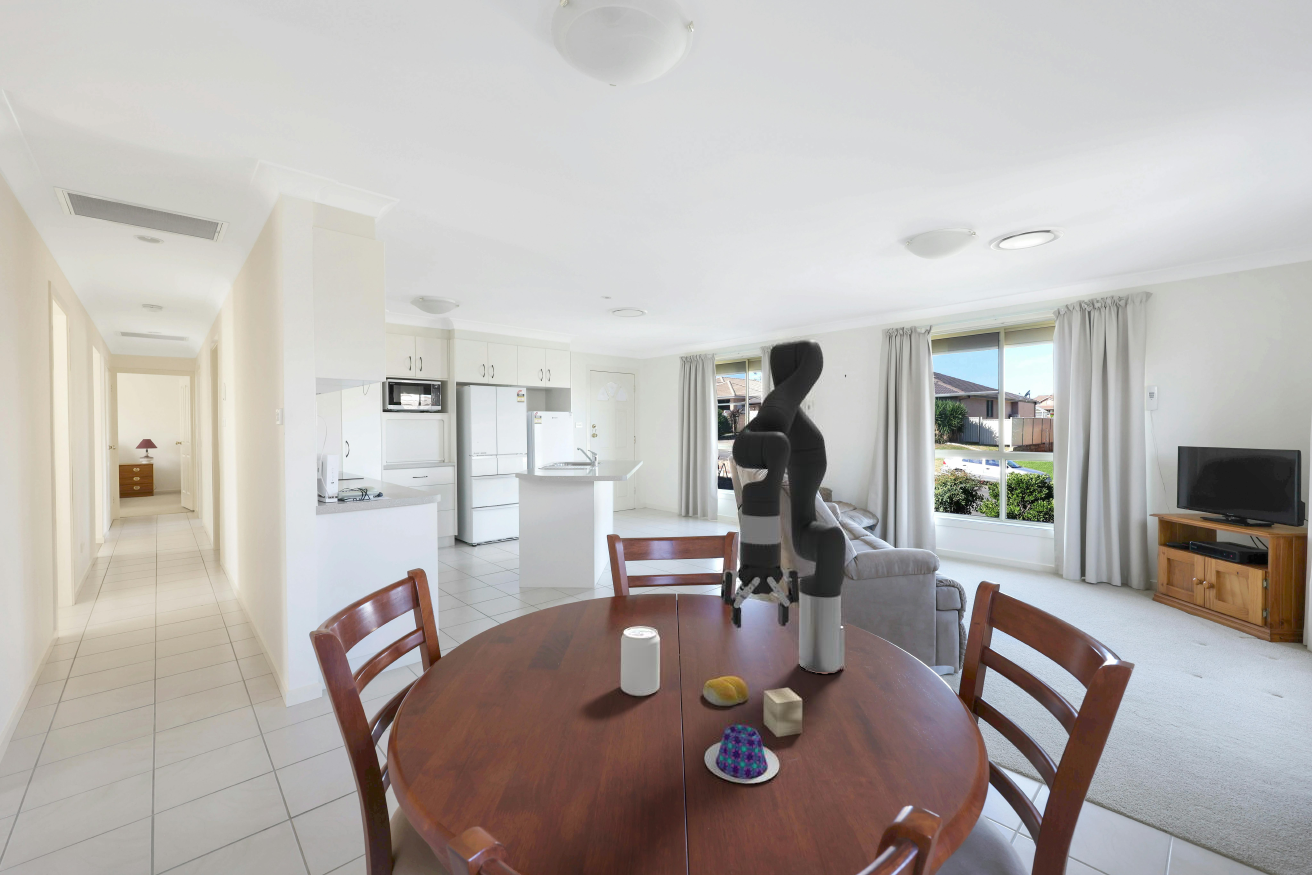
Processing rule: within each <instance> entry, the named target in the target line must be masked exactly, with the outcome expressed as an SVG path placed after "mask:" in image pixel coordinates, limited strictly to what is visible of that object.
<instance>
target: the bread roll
mask: <svg viewBox="0 0 1312 875" xmlns="http://www.w3.org/2000/svg"><path fill="white" fill-rule="evenodd" d="M702 694H703V697H704V698H705V699H706V701H708V702H710V704H713V705H715V706H718V707H719V706H720V707H721V706H723V707H731V706H734V705H737V704H742V703H744V702H745V701H747V700H748V698H749V689H748V686H747V684H746V682H744V681H743V680H742V679H741V678H739V677H737V676H734V675H729V676H728V675H727V676H720V677H719V678H716V679H715V678H714V679H710V680H707V682H705V684H704V686H703V689H702Z"/></svg>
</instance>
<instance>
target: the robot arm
mask: <svg viewBox="0 0 1312 875" xmlns="http://www.w3.org/2000/svg"><path fill="white" fill-rule="evenodd" d="M769 352H770V354H769V367H770V374H771V378H772V383H773V389H772V390H771V391H770V392H769V393H768V394H767V396H766V397H764V399H763V401H762V402H761V405H760V406H759V409H758V412H757V413H756V415H755V416H754V417H753V418H752V419H751V420H750V421H749V422H748V423H747V424H746V425H744V427H742V429H741V430H740V431H739V432H738V434H737V435H736V436H735V439H734V440H733V443H732V448H731V454H732V459H733V461H734V462H735V464H736V465H737V466H738V467H739V468H741V469H745V470H746V469H748V470H767V473H766V475H765V476H764V478H763V479H761V480H757V481H750V482H747V483H745V484H743V486H742V490H741V520H740V523H739V524H740V525H739V526H740V527H739V536H740V537H739V539H740V540H739V568H738V570H737V571H736V570H728V569H726V568H725V569H724V570H723V571H722V581H721V593H720V599H721V601H722V603H724V605H726V606H730V608H731V612H730V613H731V615H730V620H731V623H732V624H733V625H734V626H735V628H736V629H741V628H742V607H741V605H742V604H743V603H744V601H745V600H747V599H748V598H749V596H750V595H754V596H755V595H756V596H757V595H761V594H764V595H770V594H771V593H772V594H773V595H774V596H775V597H776V598H777V600H778V601H779V603H778V604H777V605H778V606H777V607H778V608H777V623H778V625H779V626H781V627H786V625H787V623H788V622H789V617H790V615H789V614H790V612H789V610H790V605H791V604H795V603H798V602H799V604H798V605H799V606H798V607H799V609H798V610H799V612H798V613H799V614H798V615H799V616H798V619H799V620H798V622H799V623H798V632H799V633H798V665H799V664H800V665H799V667H800V666H801V667H803V668H805V669H807V670H811V671H815V672H831V671H835V670H837V669H839V668H840V667H841V666H844V667H845V627H844V626H843V625H841V624H842V623H841V622H842V620H841V618H842V617H841V613H842V610H841V609H842V605H841V604H842V602H841V601H842V599H841V598H842V586H843V583H844V579H845V567H846V566H845V565H846V554H847V553H846V549H847V547H846V546H847V544H846V538H845V534H844V531H843V530H842V528H840V526H837V525H836V524H835V525H834V524H829V523H824V522H819V521H818V519H817V512H816V498H817V494H818V491H819V489H820V486H821V484H822V482H823V479H824V478H825V475H826V472H827V468H828V467H827V466H828V461H827V458H828V457H827V452H826V445H825V444H826V443H825V439H824V436H823V434H822V432H821V430H820V429H819V428H818V426H817V425H816V423H814V421H813V420H812V419H811V418H810V417H809V415H808V414H807V413H806V412H805V411H804V409H803V408H802V407H801V404H802V403H803V401H804V399H806V397H807V396H808V394H809V393H810V391H811V390H812V389H813V387H814V386H815V384H816V383H817V381H818V380H819V378H820V377H821V375H822V372H823V369H824V354H823V351H822V348H821V346H820V344H819V342H817V341H816V340H815V339H802V340H797V341H796V340H795V341H791V342H786V343H785V342H784V343H779V344H775V345H773V346H772V347H771V350H770V351H769ZM785 473H787V474H786V475H787V480H788V481H787V482H788V492H789V500H790V524H791V525H790V529H791V530H790V532H791V542H792V543H791V544H792V547H793V550H794V553H795V554H796V556H798V558H800V559H802V560H805V561H809V562H813V563H815V568H814V573H813V574H811V575H805V576H802V578H800V579H799V575H798V574H799V573H798V571H797V570H795V569H794V568H792V567H788V568H787V569H782V536H783V535H782V525H781V524H782V523H781V490H782V485H783V480H784V477H785ZM783 577H784V580H785V581H786V582H787V595H785V593H784V592H783V590H782V589H781V587H780V586H779V584H780V582H781V580H782V579H783ZM737 579H739V581H740V582H741V584H740V585H738V587H737V588H736V591H735V593H734V594H733V596H732V590H733V589H732V587H733V584H734V583H735V582H736V580H737ZM801 667H800V668H801ZM803 668H802V669H803ZM807 670H806V671H807Z"/></svg>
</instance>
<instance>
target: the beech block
mask: <svg viewBox="0 0 1312 875" xmlns="http://www.w3.org/2000/svg"><path fill="white" fill-rule="evenodd" d="M763 724H764V725H765V727H767V728H768V729H769V730H770V732H772V733H773V734H774V735H775V737H777V738H780V737H785V736H792V735H797V734H802V733H803V699H802V698H801V697H800V696H798V695H797V693H795V692H794V691H793V690H792V689H791V688H789V687H784V688H783V687H782V688H775V689H766V690H763Z"/></svg>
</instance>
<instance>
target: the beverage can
mask: <svg viewBox="0 0 1312 875" xmlns="http://www.w3.org/2000/svg"><path fill="white" fill-rule="evenodd" d="M660 641H661V638H660V636H659V632H658V630H657V629H655V628H654V627H650V626H644V625H643V626H642V625H641V626H638V625H637V626H630V627H628V628H626V629H624V630H623V633H622V636H621V638H620V689H621V690H622V691H623V692H624V693H626V694H628V695H630V696H636V697H645V696H649V695H651V694H654V693H656V692H658V690H659V689H660V677H661V676H660V667H661V664H660V663H661V662H660V661H661V660H660V655H661V653H660V651H661V650H660V649H661V648H660V647H661V642H660Z"/></svg>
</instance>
